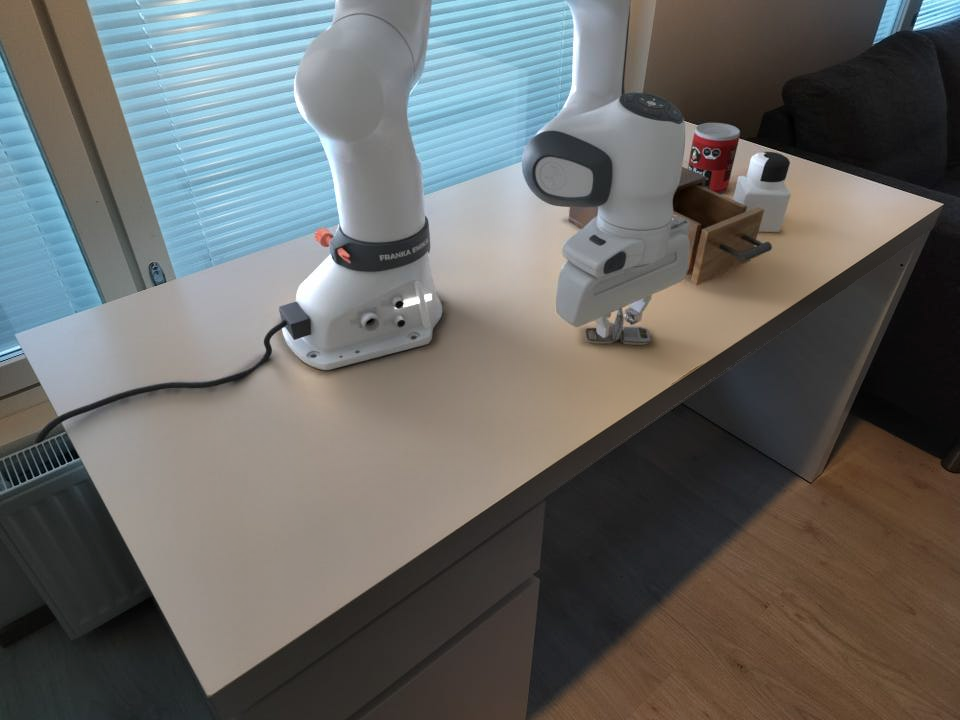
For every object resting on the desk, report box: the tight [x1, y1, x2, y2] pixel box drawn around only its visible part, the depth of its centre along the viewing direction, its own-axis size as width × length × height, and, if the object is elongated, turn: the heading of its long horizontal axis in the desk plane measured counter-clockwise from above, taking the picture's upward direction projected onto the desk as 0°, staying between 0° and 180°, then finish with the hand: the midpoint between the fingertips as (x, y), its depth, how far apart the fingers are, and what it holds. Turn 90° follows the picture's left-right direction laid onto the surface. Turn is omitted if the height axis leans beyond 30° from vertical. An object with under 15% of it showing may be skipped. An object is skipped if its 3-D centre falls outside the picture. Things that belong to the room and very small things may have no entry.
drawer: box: [673, 184, 773, 286], centre depth 105 cm, size 20×12×9 cm, turn 35°
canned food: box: [687, 122, 741, 194], centre depth 127 cm, size 8×8×11 cm
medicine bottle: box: [732, 151, 791, 233], centre depth 115 cm, size 7×7×12 cm
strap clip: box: [585, 308, 651, 346], centre depth 91 cm, size 8×3×4 cm, turn 86°
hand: (618, 327), depth 92 cm, fingers open, 4 cm apart
